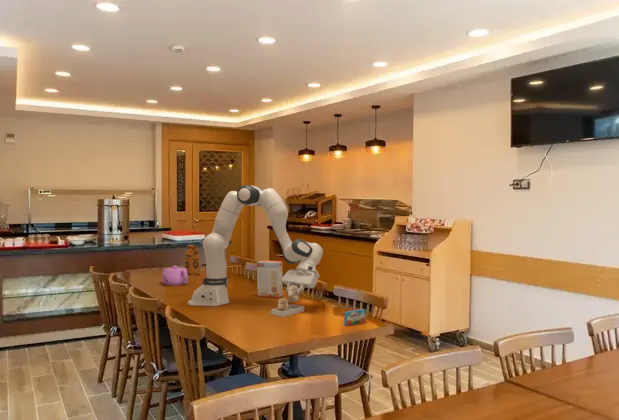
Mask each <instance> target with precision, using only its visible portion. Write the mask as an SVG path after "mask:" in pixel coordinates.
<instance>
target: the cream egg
mask: <svg viewBox="0 0 619 420" xmlns="http://www.w3.org/2000/svg"><path fill="white" fill-rule="evenodd" d="M298 288H299V286H295V285H291V286H290V287H289V289H288V292H287V294H288V299H287V301H288V302H290V303H291V302H292V303H293V302H295V303H296V302H299V293H296V290H297V289H298Z"/></svg>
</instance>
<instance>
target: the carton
mask: <svg viewBox="0 0 619 420" xmlns="http://www.w3.org/2000/svg"><path fill="white" fill-rule="evenodd" d="M302 312H303V313H304V312H305V306H303V305H298V304H293V303H292V304H288V311H284V312H283V311H278V307H276V308H272V309H271V312H270V313H271V314H270V315H272V316H277V317H282V318H284V317H289V316H291V315H295V314H296V315H297V314H299V313H302Z"/></svg>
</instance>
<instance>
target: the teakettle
mask: <svg viewBox="0 0 619 420" xmlns="http://www.w3.org/2000/svg"><path fill="white" fill-rule="evenodd" d="M161 271H162V272H161V274H162V275H161V276H162V278H161V282H162V285H163V284H165V286H169V285H173V286H172V287H178V286H177V285H180V286H184V285H183V284H185V285H187V284H188V283H189V276H188V275H189V274H188V273H187V268H185V267H178V265H172V267H167V268H163V269H162V270H161Z"/></svg>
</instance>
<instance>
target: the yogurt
mask: <svg viewBox="0 0 619 420" xmlns="http://www.w3.org/2000/svg"><path fill="white" fill-rule="evenodd" d="M343 322H344V326H347V327H348V325H349V326H354V325H357V324H358V325H359V324H363V323H366V309H365V308H359V309H355V310H349V311H345V312H344V321H343Z"/></svg>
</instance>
